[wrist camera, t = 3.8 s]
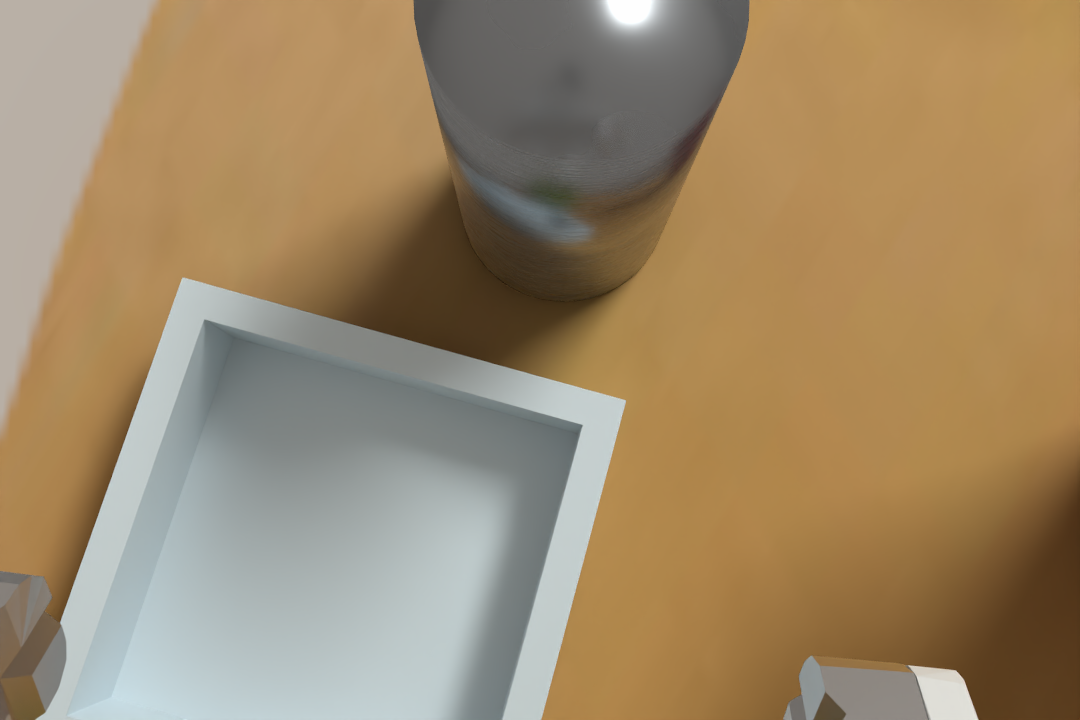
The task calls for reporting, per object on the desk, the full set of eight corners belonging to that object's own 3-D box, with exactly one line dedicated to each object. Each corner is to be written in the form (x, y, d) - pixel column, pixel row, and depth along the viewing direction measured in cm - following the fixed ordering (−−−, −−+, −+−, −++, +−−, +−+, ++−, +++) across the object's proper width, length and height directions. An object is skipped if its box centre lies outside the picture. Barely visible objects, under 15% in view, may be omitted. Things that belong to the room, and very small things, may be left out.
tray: (501, 839, 23) (496, 887, 20) (83, 714, 23) (16, 743, 20) (614, 415, 24) (626, 400, 21) (224, 306, 25) (182, 277, 22)
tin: (637, 325, 25) (704, 197, 15) (436, 270, 25) (370, 109, 15) (687, 134, 26) (783, -106, 16) (493, 82, 26) (467, -185, 16)
